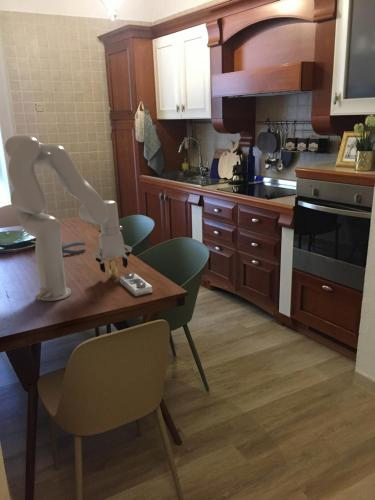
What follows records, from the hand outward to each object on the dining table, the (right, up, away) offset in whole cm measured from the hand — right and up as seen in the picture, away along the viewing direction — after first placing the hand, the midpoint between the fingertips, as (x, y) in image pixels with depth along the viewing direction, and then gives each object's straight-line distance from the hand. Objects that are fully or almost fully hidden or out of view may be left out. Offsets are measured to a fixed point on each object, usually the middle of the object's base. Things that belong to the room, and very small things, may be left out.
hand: (114, 269), depth 186 cm
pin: (0, -3, +1) cm, 3 cm away
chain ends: (+10, -7, -11) cm, 17 cm away
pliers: (-30, +6, +34) cm, 46 cm away
